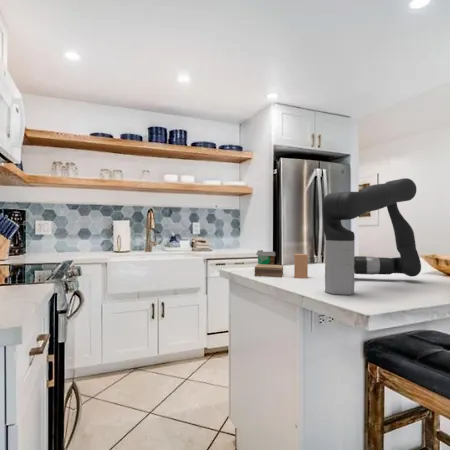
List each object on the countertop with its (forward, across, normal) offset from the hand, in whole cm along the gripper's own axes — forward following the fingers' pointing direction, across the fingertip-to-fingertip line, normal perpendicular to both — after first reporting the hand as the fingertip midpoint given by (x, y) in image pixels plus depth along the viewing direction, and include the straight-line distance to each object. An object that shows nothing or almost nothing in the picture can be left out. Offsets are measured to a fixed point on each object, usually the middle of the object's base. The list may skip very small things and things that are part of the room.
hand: (326, 264), depth 143 cm
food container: (+29, -17, +6) cm, 34 cm away
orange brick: (+11, 0, +6) cm, 12 cm away
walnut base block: (+25, -4, +6) cm, 26 cm away
